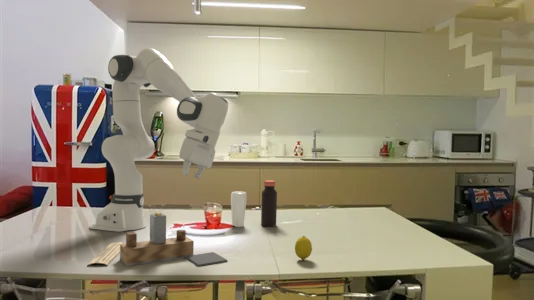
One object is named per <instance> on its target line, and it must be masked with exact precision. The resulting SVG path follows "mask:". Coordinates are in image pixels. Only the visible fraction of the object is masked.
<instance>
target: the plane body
mask: <svg viewBox="0 0 534 300" xmlns="http://www.w3.org/2000/svg"><path fill="white" fill-rule="evenodd" d="M186 233H187V231H186V229H177V230H176V237H170V238H169V237H168V238H166V243H164V244H156V245H153V244H152V243H151V242H150V240H146V241H145V240H144V241H137V237H138V236H137V233H136V232H135V231H130V232H128V231H127V232H126V233H125V235H126V237H125V242H126V243H125V244H120V253H119V260H120V261H121V262H122V264H123V265H124V266H126V267H129V266H136V265H143V264H149V263H157V262H163V261H170V260H176V259H183V258H186V256H190V255H195V254H194V247H195V246H194V241H195V240H192V239H190V238H189V237H188V236H186V235H187V234H186Z"/></svg>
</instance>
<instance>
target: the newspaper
mask: <svg viewBox="0 0 534 300" xmlns="http://www.w3.org/2000/svg"><path fill="white" fill-rule="evenodd" d="M120 244H126V243H124V242H120V241H119V242H117V241H116V242H112V243H109V244H108V245H107V246H106V247H105V248H104V249H103V250H102V251H100V252H99V254H97V255H96V256H95V257H94V258H93V259H91V261H90V262H88V263H87V264H86V266H87V267H90V266H91V265H93V264H103V265H105V266H106V267H108V266H109V265H110V264H111V263H112V262H113V261H114V260H115V259H116V258H117V256H119V255H120Z"/></svg>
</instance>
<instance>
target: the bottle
mask: <svg viewBox="0 0 534 300" xmlns="http://www.w3.org/2000/svg"><path fill="white" fill-rule="evenodd" d="M263 182H264V183H263V187H264V189H263V190H262V192H261V208H260V209H261V210H260V211H261V212H260V213H261V214H260V215H261V217H260V220H261V221H260V225H261V226H263V227H266V228H268V227H269V228H272V227H276V226H277V209H278V206H277V205H278V202H277V201H278V192H277V191H276V189H275V187H276V180H270V179H269V180H264V181H263Z"/></svg>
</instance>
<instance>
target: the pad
mask: <svg viewBox="0 0 534 300" xmlns="http://www.w3.org/2000/svg"><path fill="white" fill-rule="evenodd" d="M185 258H186V259H187V260H188V261H189V262H191V263H192V264H194V265H196V266H197V267H205V266H210V265H215V264H222V263H227V262H228V259H226V258H225V257H223V256H221V255H219V254H218V253H217V252H213V251H211V252H205V253H198V254H194V255H190V256H186V257H185Z"/></svg>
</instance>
